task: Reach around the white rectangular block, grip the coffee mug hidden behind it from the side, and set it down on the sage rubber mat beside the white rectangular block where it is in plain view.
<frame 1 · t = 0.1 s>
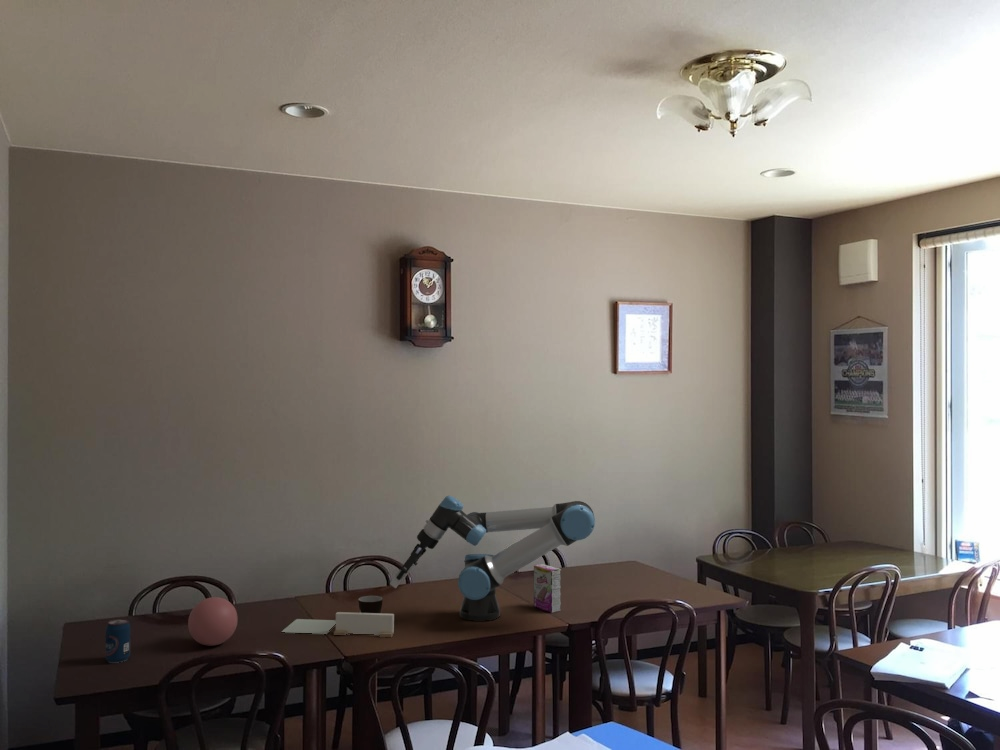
hand: (396, 581, 293), 15 cm above the table, tool tilted 35°, fingers open, 13 cm apart
balloon: (211, 643, 270), on the table
mat: (311, 627, 288), on the table
coffee mug: (371, 626, 290), on the table
candy bar box: (546, 609, 314), on the table
soda can: (117, 660, 251), on the table
white rectangular block: (364, 634, 280), on the table
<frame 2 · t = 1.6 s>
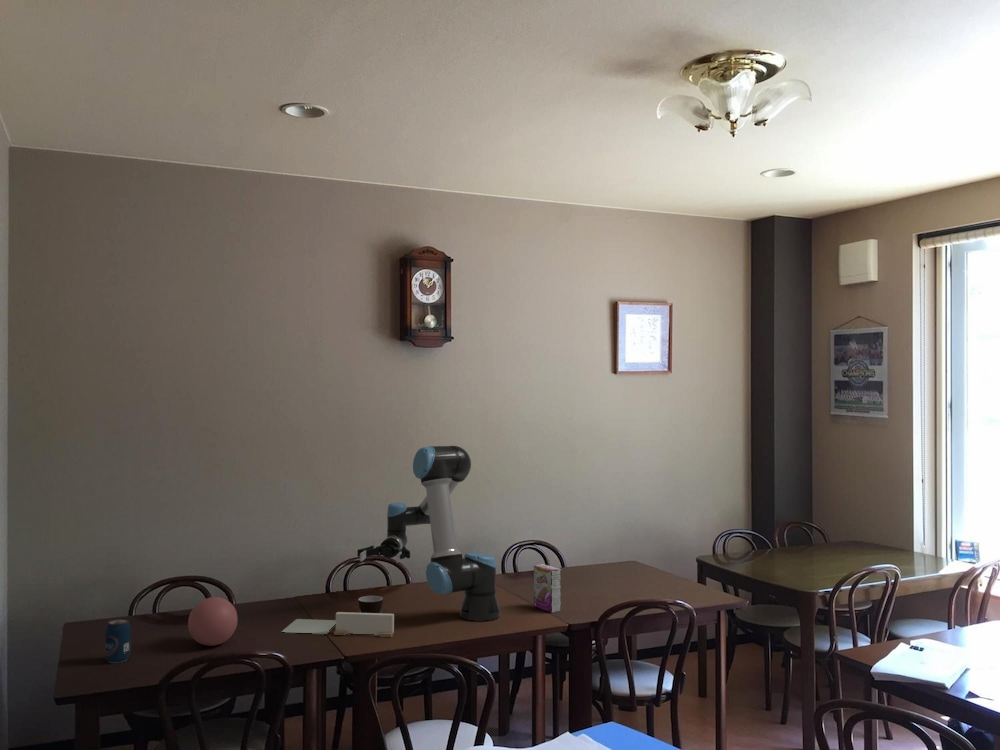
hand: (378, 558, 300), 22 cm above the table, tool horizontal, fingers open, 13 cm apart
nothing on the table moved.
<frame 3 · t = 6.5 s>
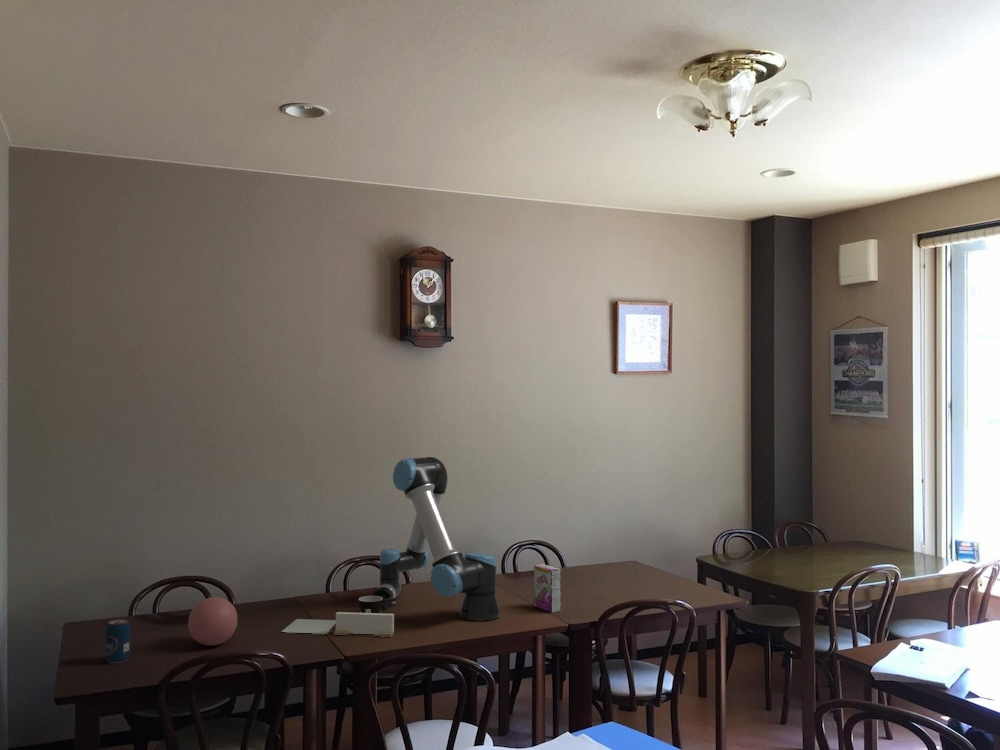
hand: (368, 613, 285), 6 cm above the table, tool horizontal, fingers closed
coffee mug: (371, 626, 290), on the table, touching gripper
everything else where it was.
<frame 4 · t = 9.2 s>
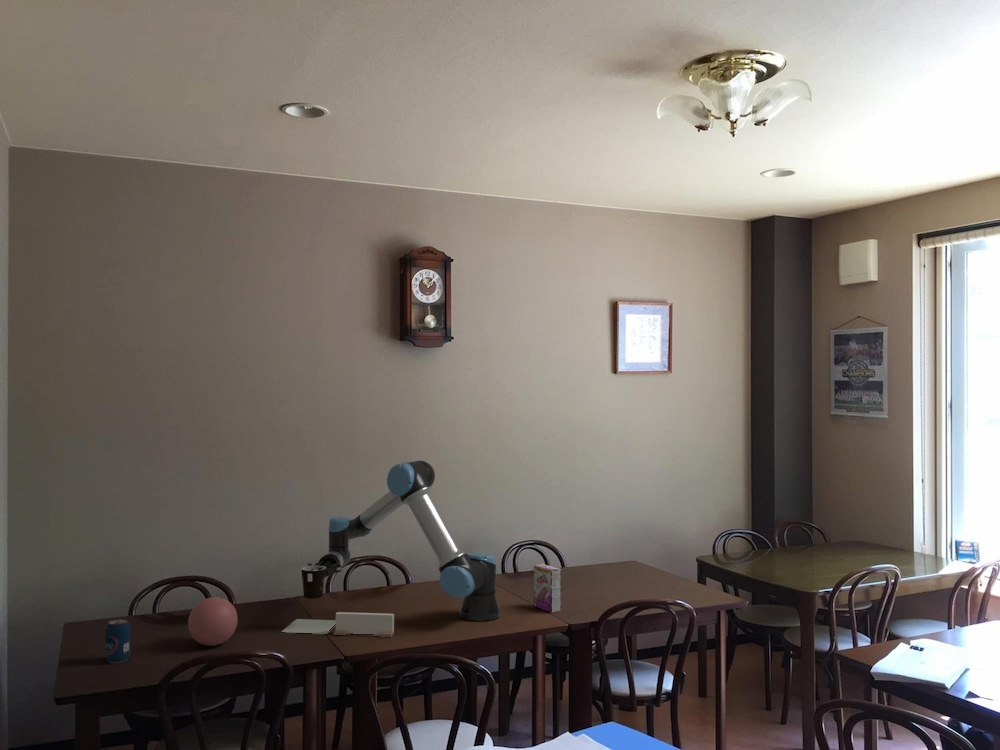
hand: (309, 577, 284), 19 cm above the table, tool horizontal, fingers closed
coffee mug: (315, 595, 289), point 11 cm above the table, touching gripper
everything else where it was.
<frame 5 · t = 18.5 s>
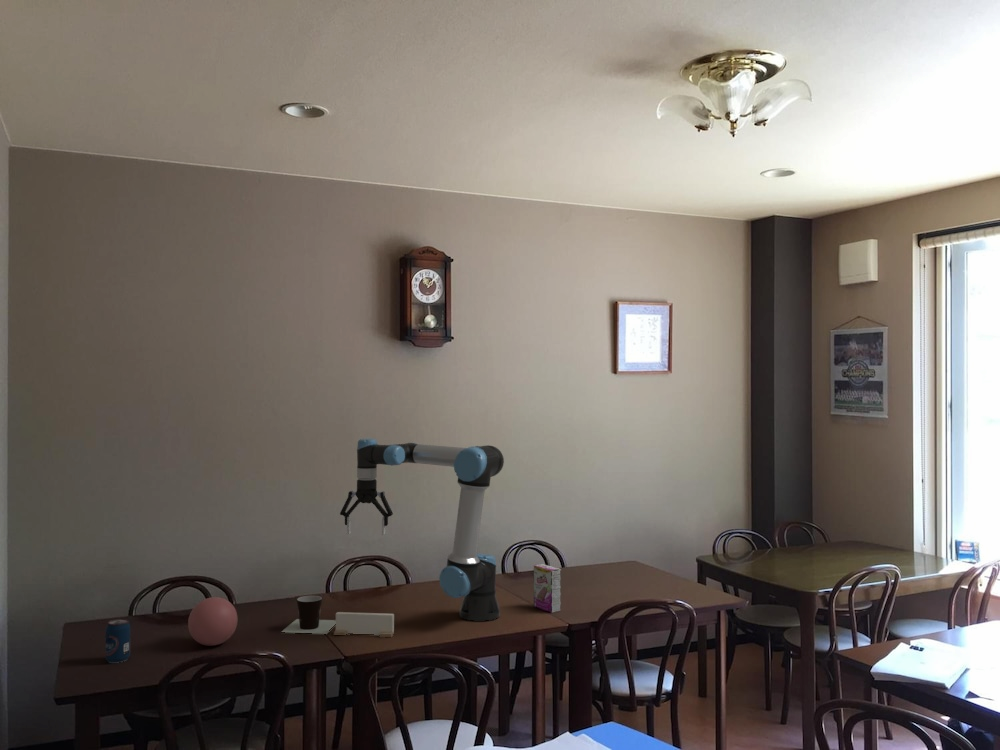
hand: (366, 534, 313), 29 cm above the table, tool pointing down, fingers open, 13 cm apart
coffee mug: (311, 626, 288), resting on mat
everything else where it was.
at the end: coffee mug inside the target area on the mat (0.1 cm from its centre), point 0.2 cm above the mat's base; coffee mug tilted 0°; the gripper is holding nothing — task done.
